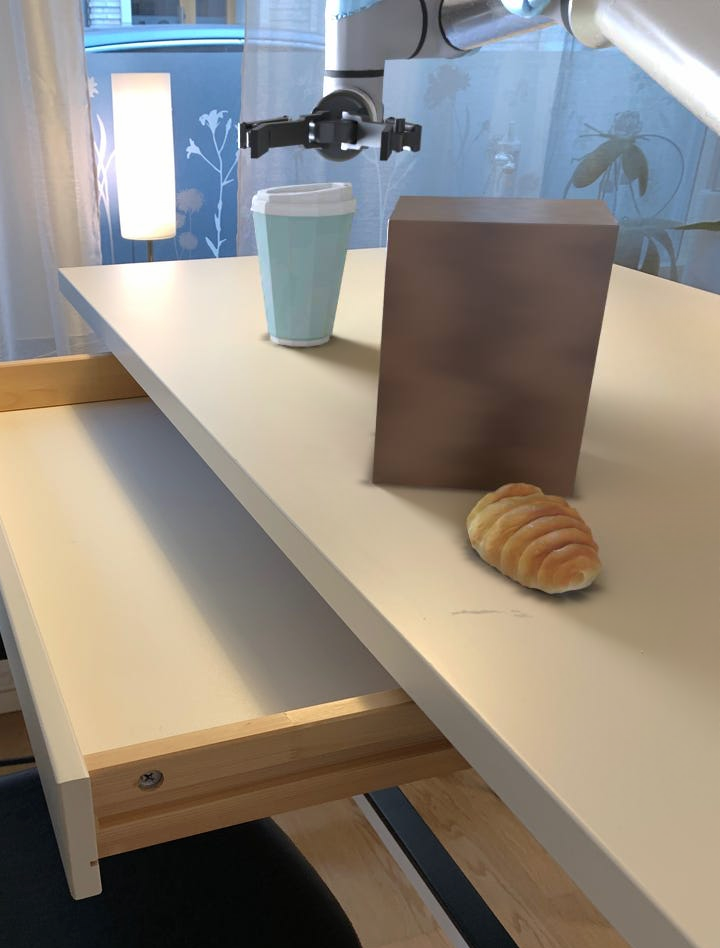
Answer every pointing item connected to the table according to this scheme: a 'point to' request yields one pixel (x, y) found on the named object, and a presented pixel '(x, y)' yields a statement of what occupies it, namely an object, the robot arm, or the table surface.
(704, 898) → the table surface
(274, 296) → the disposable coffee cup
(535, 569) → the pastry
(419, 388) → the storage box
